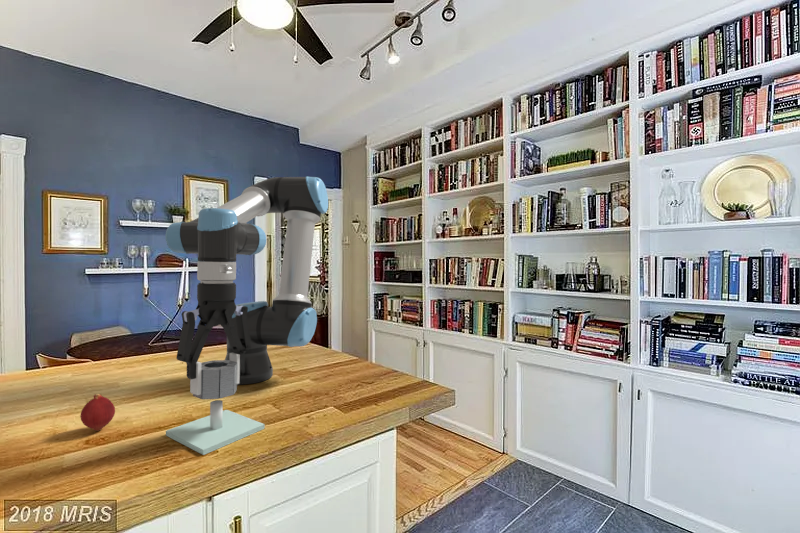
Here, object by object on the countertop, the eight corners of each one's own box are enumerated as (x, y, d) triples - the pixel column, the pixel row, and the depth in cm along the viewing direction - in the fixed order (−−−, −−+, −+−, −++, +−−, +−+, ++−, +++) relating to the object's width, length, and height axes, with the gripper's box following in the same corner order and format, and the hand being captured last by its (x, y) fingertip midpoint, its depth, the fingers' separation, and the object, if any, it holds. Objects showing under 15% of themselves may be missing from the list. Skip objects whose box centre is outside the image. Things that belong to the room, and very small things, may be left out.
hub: (186, 393, 83) (187, 365, 83) (221, 384, 90) (222, 358, 90) (208, 401, 79) (209, 371, 79) (243, 391, 86) (244, 364, 86)
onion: (93, 424, 87) (93, 388, 87) (120, 424, 88) (120, 388, 88) (74, 436, 82) (73, 398, 81) (103, 436, 82) (103, 398, 82)
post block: (165, 435, 83) (165, 404, 83) (226, 413, 95) (226, 386, 94) (203, 455, 75) (203, 421, 75) (264, 428, 87) (264, 399, 87)
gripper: (176, 284, 73) (174, 406, 74) (269, 280, 91) (267, 379, 91) (155, 282, 77) (154, 398, 78) (248, 279, 95) (247, 373, 95)
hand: (215, 387), depth 84 cm, fingers closed on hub, 8 cm apart
